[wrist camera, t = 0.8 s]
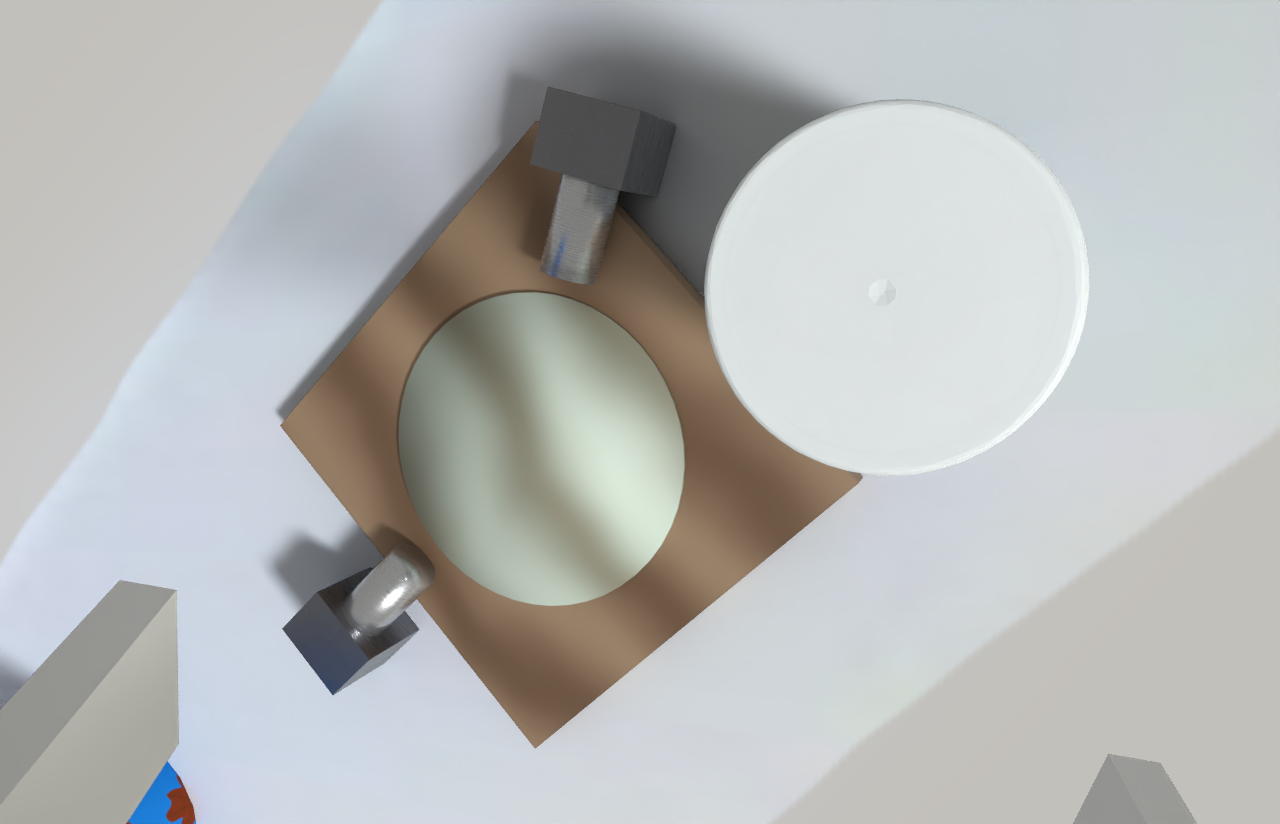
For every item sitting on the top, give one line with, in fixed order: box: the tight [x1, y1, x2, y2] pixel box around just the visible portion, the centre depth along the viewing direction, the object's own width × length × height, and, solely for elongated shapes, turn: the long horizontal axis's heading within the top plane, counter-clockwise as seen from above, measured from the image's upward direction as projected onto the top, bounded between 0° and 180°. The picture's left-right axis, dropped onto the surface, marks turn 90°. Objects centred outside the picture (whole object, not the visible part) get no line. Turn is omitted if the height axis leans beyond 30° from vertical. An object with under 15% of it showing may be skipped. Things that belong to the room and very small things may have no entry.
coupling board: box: [280, 121, 863, 748], centre depth 44 cm, size 20×20×2 cm
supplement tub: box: [704, 99, 1089, 476], centre depth 31 cm, size 10×10×15 cm
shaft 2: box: [530, 87, 676, 285], centre depth 40 cm, size 7×4×4 cm, turn 164°
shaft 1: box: [282, 544, 436, 695], centre depth 47 cm, size 7×4×4 cm, turn 134°
